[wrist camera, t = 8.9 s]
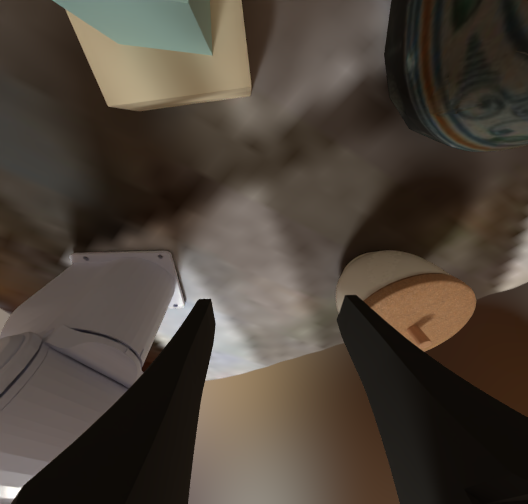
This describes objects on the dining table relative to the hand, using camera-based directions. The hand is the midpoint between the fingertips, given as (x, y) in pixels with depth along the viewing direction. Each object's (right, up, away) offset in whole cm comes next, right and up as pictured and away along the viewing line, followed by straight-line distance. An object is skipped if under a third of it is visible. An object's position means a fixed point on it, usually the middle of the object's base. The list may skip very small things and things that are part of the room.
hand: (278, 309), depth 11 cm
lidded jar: (+12, +1, +13) cm, 18 cm away
